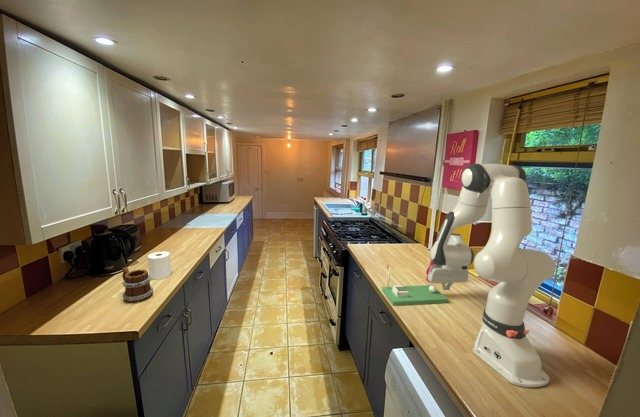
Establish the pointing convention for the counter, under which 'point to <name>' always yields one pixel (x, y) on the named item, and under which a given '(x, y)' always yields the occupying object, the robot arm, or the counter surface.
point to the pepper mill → (429, 269)
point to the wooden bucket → (136, 285)
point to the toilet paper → (159, 265)
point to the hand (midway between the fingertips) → (445, 289)
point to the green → (412, 294)
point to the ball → (432, 288)
